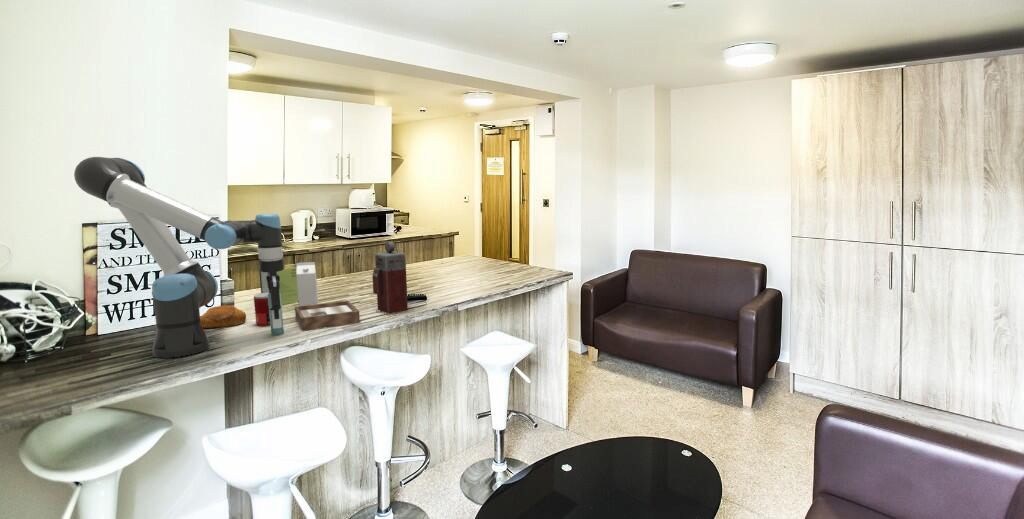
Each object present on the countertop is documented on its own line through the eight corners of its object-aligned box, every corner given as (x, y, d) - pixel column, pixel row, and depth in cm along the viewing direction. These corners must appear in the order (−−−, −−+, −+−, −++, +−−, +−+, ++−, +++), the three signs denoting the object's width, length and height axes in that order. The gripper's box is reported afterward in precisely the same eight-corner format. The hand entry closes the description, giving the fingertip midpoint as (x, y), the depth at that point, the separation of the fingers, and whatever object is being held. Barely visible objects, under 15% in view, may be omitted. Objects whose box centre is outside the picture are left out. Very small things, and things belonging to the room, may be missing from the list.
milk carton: (300, 306, 223) (297, 261, 220) (318, 304, 225) (315, 260, 222) (299, 310, 216) (295, 264, 213) (317, 308, 218) (314, 263, 215)
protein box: (306, 300, 234) (304, 265, 231) (271, 306, 222) (268, 270, 220) (295, 297, 240) (293, 263, 238) (261, 303, 229) (258, 268, 227)
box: (302, 330, 186) (301, 318, 185) (295, 318, 203) (294, 306, 202) (359, 322, 195) (359, 311, 194) (348, 311, 212) (348, 300, 212)
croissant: (242, 332, 193) (243, 311, 192) (194, 330, 188) (195, 309, 187) (249, 321, 206) (250, 301, 205) (204, 319, 201) (205, 299, 200)
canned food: (270, 326, 191) (268, 297, 190) (251, 326, 193) (248, 296, 191) (283, 321, 199) (281, 292, 197) (264, 320, 200) (262, 292, 199)
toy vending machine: (372, 310, 213) (368, 242, 209) (396, 306, 220) (393, 239, 216) (383, 314, 206) (379, 243, 202) (408, 309, 214) (405, 241, 210)
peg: (271, 335, 180) (268, 295, 178) (270, 332, 184) (267, 293, 182) (284, 333, 182) (281, 294, 180) (283, 331, 186) (279, 292, 183)
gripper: (285, 261, 173) (291, 330, 177) (280, 255, 188) (286, 319, 192) (260, 263, 170) (266, 333, 173) (257, 257, 185) (263, 322, 188)
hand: (276, 326), depth 182 cm, fingers closed on peg, 4 cm apart
